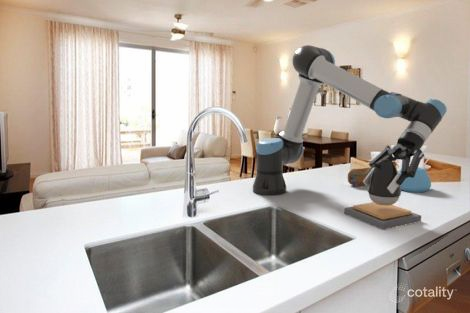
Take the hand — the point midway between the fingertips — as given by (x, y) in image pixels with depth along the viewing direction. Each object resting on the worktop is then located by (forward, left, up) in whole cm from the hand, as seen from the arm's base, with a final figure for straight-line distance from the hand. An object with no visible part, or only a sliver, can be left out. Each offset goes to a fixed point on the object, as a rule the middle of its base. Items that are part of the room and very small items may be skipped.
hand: (377, 187), depth 108 cm
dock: (0, +3, -11) cm, 11 cm away
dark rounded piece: (0, +3, -6) cm, 7 cm away
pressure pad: (0, +3, -9) cm, 9 cm away
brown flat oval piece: (-37, +31, -11) cm, 50 cm away
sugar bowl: (-22, +46, -11) cm, 52 cm away
